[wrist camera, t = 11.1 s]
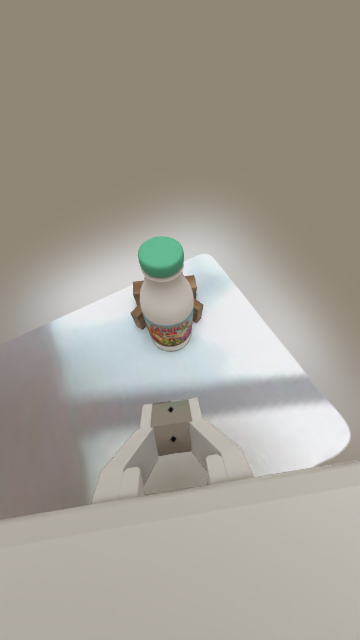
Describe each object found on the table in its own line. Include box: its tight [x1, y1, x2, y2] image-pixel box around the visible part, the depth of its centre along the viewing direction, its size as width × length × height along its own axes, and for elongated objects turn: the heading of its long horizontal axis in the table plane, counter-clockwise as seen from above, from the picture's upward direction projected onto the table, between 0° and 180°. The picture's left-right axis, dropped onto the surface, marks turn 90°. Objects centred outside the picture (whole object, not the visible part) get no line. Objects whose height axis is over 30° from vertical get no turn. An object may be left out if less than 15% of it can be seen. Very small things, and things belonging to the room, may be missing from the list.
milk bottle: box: [138, 237, 194, 351], centre depth 27 cm, size 8×8×20 cm
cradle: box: [131, 275, 203, 330], centre depth 36 cm, size 8×13×5 cm, turn 97°
